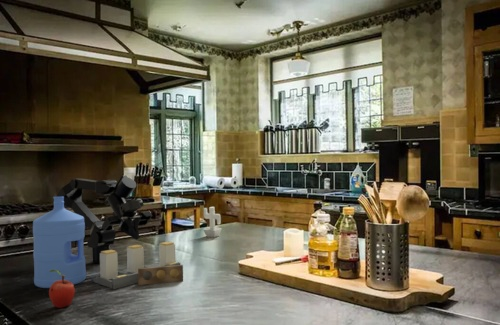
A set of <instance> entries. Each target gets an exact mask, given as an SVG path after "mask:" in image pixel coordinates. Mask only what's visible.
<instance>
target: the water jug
mask: <svg viewBox="0 0 500 325" xmlns="http://www.w3.org/2000/svg"><path fill="white" fill-rule="evenodd" d="M63 198H64V197H63V196H61V197H57V196H53V197H52V199H53V209H52V210H50V211H49V212H46V213H45V214H42V215H41V216H39V217H37V218H35V219H34V220H33V221H32V235H33V266H34V268H33V269H34V270H33V271H34V277H33V283H34V286H35V287H37V288H41V289H42V288H43V289H50V287H51V285H52V284H53V283H54V282H56V281H59V280H62V276H63V275H65V277H64V280H67V281H69V282H71V283H72V284H73V285H74V286H75V285H77V284H80V283H82V282H83V281H85V279H87V270H86V257H85V256H84V255H85V250H84V249H85V248H84V246H85V245H84V239H85V232H86V230H85V229H86V224H85V222H84V217H83V216H81V215H78V214H76V213H75V212H74V211H70V210H68V209H66V208H65V206H64V201H63ZM75 241H77V254H73V253H72V242H75ZM50 270H56V271H60V273H61V275H60V274H59V273H58V272H56V271H54V272H49V271H50Z"/></svg>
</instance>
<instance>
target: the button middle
mask: <svg viewBox="0 0 500 325" xmlns="http://www.w3.org/2000/svg"><path fill="white" fill-rule="evenodd" d="M144 249H145V248H144V247H143V245H140V244H134V245H129V246H127V247H126V262H127V264H126V266H127V269H126V270H127V271H128V272H131V273H137V272H138V268H144V266H145V254H144V252H145V250H144Z"/></svg>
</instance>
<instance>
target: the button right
mask: <svg viewBox="0 0 500 325" xmlns="http://www.w3.org/2000/svg"><path fill="white" fill-rule="evenodd" d="M158 258H159V260H158V261H159V262H158V263H159V266H165V265H168V264H170V263H174V262H176V261H177V260H176V243H175V242H174V241H173V242H171V241H165V242H160V243H159V244H158ZM176 263H177V262H176Z"/></svg>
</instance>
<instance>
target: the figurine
mask: <svg viewBox="0 0 500 325" xmlns="http://www.w3.org/2000/svg"><path fill="white" fill-rule="evenodd" d="M208 209H209V211H208ZM215 210H216V209H215V206H210V207H209V208H208V207H204V208H203V218H204V219H206V220H209V227H208V228H207V227H206V228H205V229H202V231H203V233H204V234H205V236H206V238H207V237H208V238H216V237H219V235H220V234H221V231H222V229H223V228H221V227H216V224H217V225H221V223H222V222H221V221H222V217H221V214H220V213H216V211H215Z"/></svg>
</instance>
